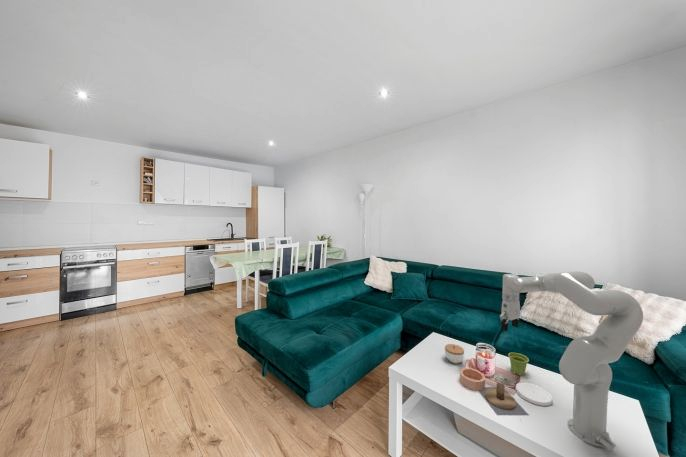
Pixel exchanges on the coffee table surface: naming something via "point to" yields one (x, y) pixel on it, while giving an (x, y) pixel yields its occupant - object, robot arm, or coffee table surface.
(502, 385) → the lid
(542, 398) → the plastic lid
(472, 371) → the bowl
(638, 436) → the coffee table surface
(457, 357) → the lidded jar
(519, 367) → the plant pot
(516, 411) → the mat
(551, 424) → the coffee table surface
